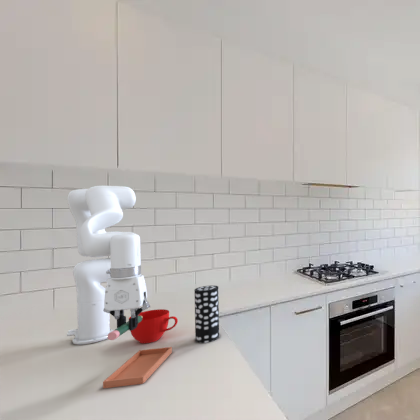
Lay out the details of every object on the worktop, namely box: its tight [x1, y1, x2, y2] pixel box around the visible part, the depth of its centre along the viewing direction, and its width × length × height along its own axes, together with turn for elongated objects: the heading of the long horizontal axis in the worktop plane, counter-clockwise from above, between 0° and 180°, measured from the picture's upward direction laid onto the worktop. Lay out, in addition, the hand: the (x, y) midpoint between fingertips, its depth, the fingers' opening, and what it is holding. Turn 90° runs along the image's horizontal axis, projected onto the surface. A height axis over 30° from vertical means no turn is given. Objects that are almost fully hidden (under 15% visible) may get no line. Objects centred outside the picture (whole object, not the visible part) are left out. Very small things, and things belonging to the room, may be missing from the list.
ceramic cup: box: [128, 308, 179, 344], centre depth 122 cm, size 13×17×10 cm
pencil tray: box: [102, 346, 173, 389], centre depth 100 cm, size 10×20×2 cm, turn 13°
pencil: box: [107, 316, 143, 341], centre depth 99 cm, size 16×2×2 cm, turn 12°
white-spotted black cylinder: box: [194, 285, 220, 344], centre depth 122 cm, size 8×8×20 cm
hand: (127, 329), depth 99 cm, fingers closed on pencil, 2 cm apart
